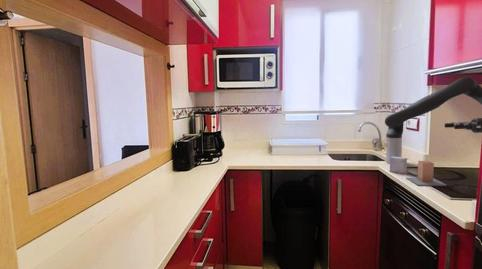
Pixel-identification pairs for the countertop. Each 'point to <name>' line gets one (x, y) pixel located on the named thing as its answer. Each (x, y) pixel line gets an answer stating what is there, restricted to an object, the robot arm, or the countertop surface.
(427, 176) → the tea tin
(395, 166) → the medicine box
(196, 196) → the countertop surface
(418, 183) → the slate mat
